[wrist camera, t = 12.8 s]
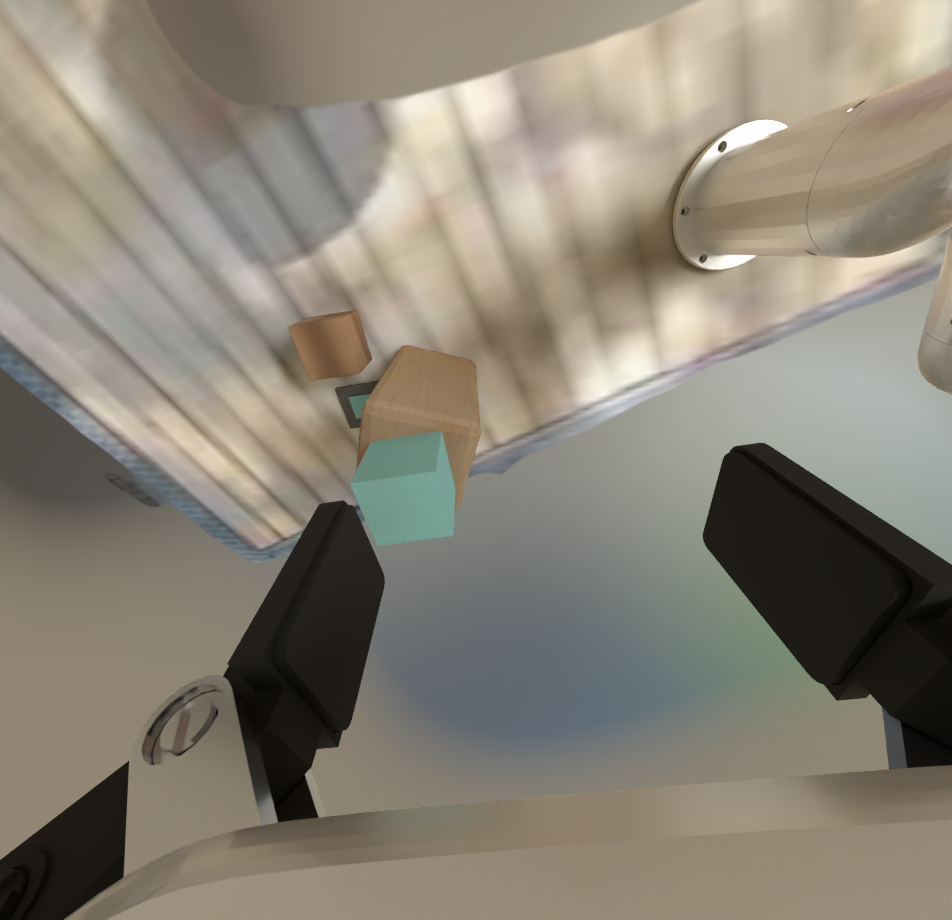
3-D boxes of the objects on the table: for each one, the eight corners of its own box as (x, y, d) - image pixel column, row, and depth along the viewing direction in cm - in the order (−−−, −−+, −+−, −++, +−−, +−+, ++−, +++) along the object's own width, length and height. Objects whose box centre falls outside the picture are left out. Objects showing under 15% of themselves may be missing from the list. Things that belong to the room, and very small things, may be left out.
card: (378, 381, 46) (378, 382, 46) (391, 421, 49) (390, 422, 49) (336, 387, 46) (334, 389, 46) (351, 427, 50) (350, 428, 49)
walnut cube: (357, 309, 42) (341, 318, 36) (372, 358, 45) (360, 373, 40) (309, 317, 42) (287, 327, 37) (327, 365, 45) (310, 380, 40)
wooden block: (391, 411, 49) (351, 500, 32) (401, 341, 44) (359, 401, 26) (460, 427, 50) (457, 518, 33) (477, 360, 45) (484, 428, 28)
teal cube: (441, 430, 28) (435, 471, 23) (455, 488, 31) (453, 535, 26) (370, 441, 28) (349, 483, 23) (391, 497, 32) (377, 546, 26)
